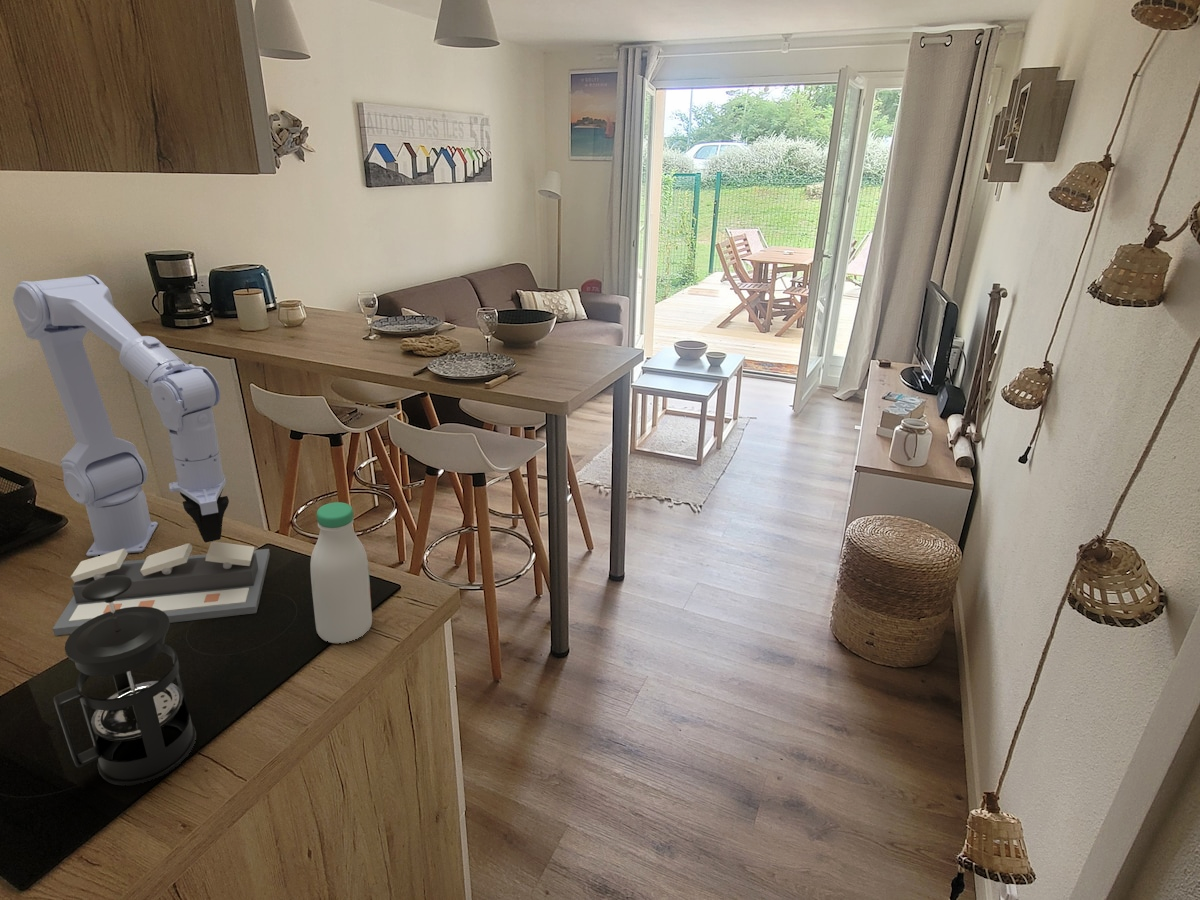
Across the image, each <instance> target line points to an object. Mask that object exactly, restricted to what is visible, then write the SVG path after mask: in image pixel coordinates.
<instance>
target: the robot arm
mask: <svg viewBox="0 0 1200 900" xmlns="http://www.w3.org/2000/svg"><path fill="white" fill-rule="evenodd" d="M12 299H13V300H12V302H13V304H14V307H15V310H16V312H17V316H18V319H19V321H20V323H21V326H22V329H23V331H24V332H25V335H26V337H27V338H28V339H31V340H37V341H38V342H39V344H40V347H41V349H42V353H43V355H44V358H45V361H46V363H47V366H48V369H49V372H50V374H51V377H52V379H53V382H54V386H55V389H56V391H57V394H58V396H59V400H60V402H61V405H62V407H63V410H64V413H65V415H66V418H67V421H68V424H69V426H70V427H69V428H70V429H71V432H72V435H73V438H74V441H75V444H74V445H73V446H72V448H70V450H68V451H67V453H66V454H65V455H64V456H63V457H62V459H60V463H61V464H60V465H61V469H62V472H63V484H64V487H65V489H66V492H67V493H68V494H69V496H70V497H71V499H73V501H75V502H77V503H78V504H80V505H83V506H85V509H86V514H87V518H88V521H89V526H90V529H91V532H92V533H91V534H92V536H93V540H94V541H93V542H92V544H91V546H90V547H89V548H88V550H87V552H86V554H85V555H86V557H97V556H98V555H100V556H101V555H104V554H107V553H111V552H114V551H117V550H120V549H124V548H125V550H126V551H127V553H128V554H133V553H143V552H144V551H145V550H146V548H147V547H146V546H147V545H148V544H149V542H150V540H151V538H152V536H153V534H154V531H155V530H156V528H157V526H158V525H159V524H158V521H151V516H150V512H149V507H148V501H147V497H146V494H145V492H144V490H143V487H142V485H144V484H145V483H147V479H148V468H147V465H146V462H145V461H144V459H143V458H142V457H141V455H140V454H139V451H138V449H137V447H136V446H135V444H134V443H133V442H131V441H129V440H127V439H123V438H120V437H117V436H115V432H114V430H113V427H112V424H111V422H110V418H109V415H108V413H107V409H106V407H105V404H104V401H103V398H102V394H101V392H100V389H99V386H98V383H97V380H96V377H95V375H94V372H93V369H92V366H91V363H90V360H89V357H88V355H87V351H86V347H85V345H84V341H83V340H84V339H85V337H86V335H87V334H88V332H89V331H90V332H92V333H93V334H94V335H96V336H97V338H99V339H101V340H102V341H104V342H105V343H106V344H108V345H109V346H110V347H112V349H114V350H115V351H117V352H119V358H118V359H119V363H120V365H121V367H123V368H124V369H125V370H126V371H127V372H128V373H129V374H130V375H132V376H133V377H134V378H135V379H136V380H137V381H139V382H140V384H142V385H143V386H144V387H146V389H147V390H148V391H150V397H151V400H152V403H153V404H154V407H155V408H156V409H157V411H158V413H159V416H160V421H161V423H162V424H163V427H164V428H167V431H168V432H167V433H168V435H169V440H170V442H169V443H170V447H171V452H172V457H173V463H174V467H175V473H176V479H177V480H176V481H173V482H169V483H168V488H169V492H170V493H177V492H178V493H179V494H180V496H181V498H183V499H184V501H182V505H183V506H182V507H183V509H184V511H185V512H186V514H188V515H189V516H190V517H191V518H192V520H193V522H194V523H195V525H196V526H197V529H198V531H199V534H200V536H201V538H202V540H203V542H204V543H211V542H212V541H214V542H216V541H219V540H221V537H222V531H223V519H224V515H225V512H226V510H227V508H228V506H229V502H230V501H229V497H228V496H227V495H224V496H222V493H223V490H224V487H225V486H226V483H227V481H226V480H227V479H226V476H225V475H224V471H223V464H222V458H221V452H220V445H219V439H218V433H217V427H216V421H215V416H214V415H215V414H214V407H215V406H217V405H218V404H219V402H220V400H221V390H220V386H219V383H218V381H217V379H216V378H215V376H214V374H212V373H211V372H210V370H209V369H208V368H206V367H205V366H201V365H200V366H196V365H194V364H193V363H189V364H187V363H185V362H184V361H183V360H182V359H181V358H180V357H178V356H177V354H175V353H174V352H173V351H171V349H169V348H168V347H167V346H166V345H165V344H163V342H161V341H160V340H159V339H158V338H156V337H154V336H151V335H150V336H149V335H141V333H139V332H138V330H137V329H136V328H135V327H134V326H132V324H131V323H130V322H129V321H128V320H127V319H126V318H125V317H124V316H123V315H122V314H121V312H120V311H118V309H117V308H116V307H115V306H114V305H115V304H114V300H113V296H112V293H111V290H110V288H109V287H108V286H107V285H106V284H105V283H104V282H103V280H101V279H100V278H99V277H97V276H96V275H94V274H85V275H82V276H81V275H80V276H73V277H62V278H54V279H53V278H52V279H45V280H43V279H42V280H36V281H35V280H34V281H29V280H23V281H20V282H18V284H17V285H16V287H15V290H14V293H13V297H12Z"/></svg>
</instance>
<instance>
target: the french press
mask: <svg viewBox="0 0 1200 900" xmlns="http://www.w3.org/2000/svg"><path fill="white" fill-rule="evenodd" d="M131 585H132V580H131V579H130V578H129V577H127V576H124V575H111V576H106V577H102V578H99V579H96V580H94V581H92V582H90V583H89V584H87V585H86V586H85V587H84V588H83V589H82V591H81V596H82V597H83V598H85V599H87V600H92V601H99V600H105V602H106V603H109V606H110V610H111V611H110V612H107V613H104V614H102V615H99V616H97V617H95V618H93V619H91V620H89V621H87V622H86V623H84V624H82V625H81V626H80V627H78V628H77V629H76V630H75V631H74V632H73V633H72V634H69V636H68V637H67V639H66V641H65V644H64V652H65V655H66V657H67V658H68V659H69V660H71V661H72V662H74V665H75V668H76V669H77V670H78V671H79V672H80V673H79V674H78V676H77V678H76V680H75V681H76V683H75V687H73V688H70V689H67V690H65V691H63V692H60V693H58V694H56V695H54V696H53V703H54V706H55V709H56V712H57V715H58V719H59V721H60V724H61V728H62V730H63V731H62V732H63V734H64V737H65V740H66V743H67V746H68V749H69V752H70V755H71V758H72V760H73V763H74V765H75V767H76V768H81V767H83V766H86V765H88V764H91V763H92V762H94V761H97V769H98V773H99V775H100V776H101V778H102V780H104V781H106V782H108V783H110V784H112V785H115V786H123V787H126V786H135V785H136V784H137V785H139V784H138V783H142V784H145V783H144V782H146V783H147V781H149V782H151V780H152V779H153V780H152V781H155V780H156V779H155V778H157V779H159V778H160V777H159V776H161V777H163V776H165V775H167V774H169V773H170V772H171V770H172V771H173V770H174V769H176V768H177V767H179V766H180V765H181V764H182V763H183V762H184V761H185V760H186V759H187V758H188V757H189V755H190V754H191V753H192V751H193V749H194V747H195V745H196V741H197V731H196V728H195V726H194V724H193V723H192V718H191V714H190V709H189V705H188V701H187V697H186V696H187V695H186V691H185V686H184V682H183V678H182V672H181V668H180V664H179V659H178V654H177V652H176V650H175V649H174V648H173V646H171V645H169V644H168V643H165V642H166V641H165V640H166V635H167V634H168V632H169V629H170V626H171V625H170V624H171V623H170V621H169V618H168V616H167V615H166V614H165V613H164V612H163V611H161V610H159V609H156V608H152V607H128V608H122V609H117V610H115V608H114V604H113V601H115V599H116V598H115V597H116V596H119V595H121V594H122V593H124V592H126V591H127V590H128V589H129V588H130V587H131ZM160 653H162V654H165V655H168V656H169V657H171V661H172V667H170V670H169V671H168V672H167V673H166V674H165V675H164V676H163V677H162V678H161V679H159V680H151V681H145V682H141V683H135V678H134V675H133V674H134V673H133V671H134V670H136V669H138V668H141V667H143V666H144V665H146V664H148V663H151V661H152V660H154V659H155V658H156V657H158V656H159V654H160ZM109 676H113V677H112V678H113V681H114V684H115V688H116V691H117V692H115V693H114V694H112V695H110V696H109V697H107V698H104V699H103V698H102V699H100V698H94V697H90V696H88V695H86V694H84V693H83V692H82V689H83V687H84V685H85V683H86V681H87V680H88V679H89V678H90V677H109ZM175 679H176V681H177V685H176V684H174V683H173V681H174V680H175ZM77 700H79V702H80V705H81V707H82V710H83V711H82V712H83V715H84V718H85V721H86V724H87V727H88V731H89V734H90V738H91V741H92V743H93V747H91V748H88V749H87V750H84V751H82V752H80V753H77V751H76V747H75V744H74V742H73V739H72V735H71V732H70V729H69V726H68V722H67V719H66V716H65V713H64V710H63V707H64V706H66V705H68V704H71V703H72V702H75V701H77ZM87 707H88V708H90V709H93V710H95V711H94V713H93V715H92V717H90V715H89V712H88V708H87ZM165 726H170V727H175V728H177V729H178V730H179V731H180V733H179V735H178V736H177V737H176V738H175V739H173V741H171V742H170V743H168V745H165V739H164V736H163V732H162V728H163V727H165ZM141 738H142V742H143V746H144V750H145V756H143V757H139V758H135V759H130V760H115V759H113V757H114V754H115V752H116V750H117V749H118V748H119V746H120V745H121V744H122V743H123V742H129V741H134V740H138V739H141ZM195 740H196V741H195ZM194 744H195V745H194ZM193 746H194V747H193ZM192 748H193V749H192ZM191 750H192V751H191ZM190 752H191V753H190ZM189 753H190V754H189ZM186 757H187V758H186ZM185 758H186V759H185ZM184 759H185V760H184ZM183 760H184V761H183ZM182 761H183V762H182ZM181 762H182V763H181ZM179 764H180V765H179ZM175 767H176V768H175ZM169 771H170V772H169ZM164 774H165V775H164ZM158 777H159V778H158ZM125 785H126V786H125Z"/></svg>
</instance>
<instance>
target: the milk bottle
mask: <svg viewBox="0 0 1200 900" xmlns="http://www.w3.org/2000/svg"><path fill="white" fill-rule="evenodd" d="M316 520H317V527H318V528H319V534H318V538H317V541H316V543H315V545H314V548H313V549H312V553H311V556H310V566H309V568H310V570H309V571H310V582H311V593H312V602H313V603H312V604H313V612H314V623H315V629H316V634H318V636H319V637H320V638H321V640H323V641H324V642H327V641H328V642H327V643H331V644H339V643H341V644H347V643H346V642H348V643H350V642H349V641H352V640H354V641H356V640H355V639H357V640H359V639H360V638H359V637H361V636H362V637H364V636H365V635H366V634H367V633H368V632H369V630H370V629H371V627H372V624H373V612H372V596H371V595H372V594H371V583H370V569H369V561H368V556H367V551H366V549H365V547H364V545H363V544H362V541H361V540H360V539H359V538H358V536H357V533H356V532H355V530H354V527H353V524H354V522H355V520H354V510H353V507H352V506H351V505H350V504H348V503H346V502H341V501H340V502H339V501H338V502H335V501H334V502H329V503H327V504H324V505H321V506H320V507H319V508H317V511H316ZM367 631H368V632H367ZM366 632H367V633H366ZM365 633H366V634H365ZM364 634H365V635H364ZM363 635H364V636H363ZM362 637H361V638H362ZM358 638H359V639H358ZM352 642H353V641H352Z"/></svg>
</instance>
